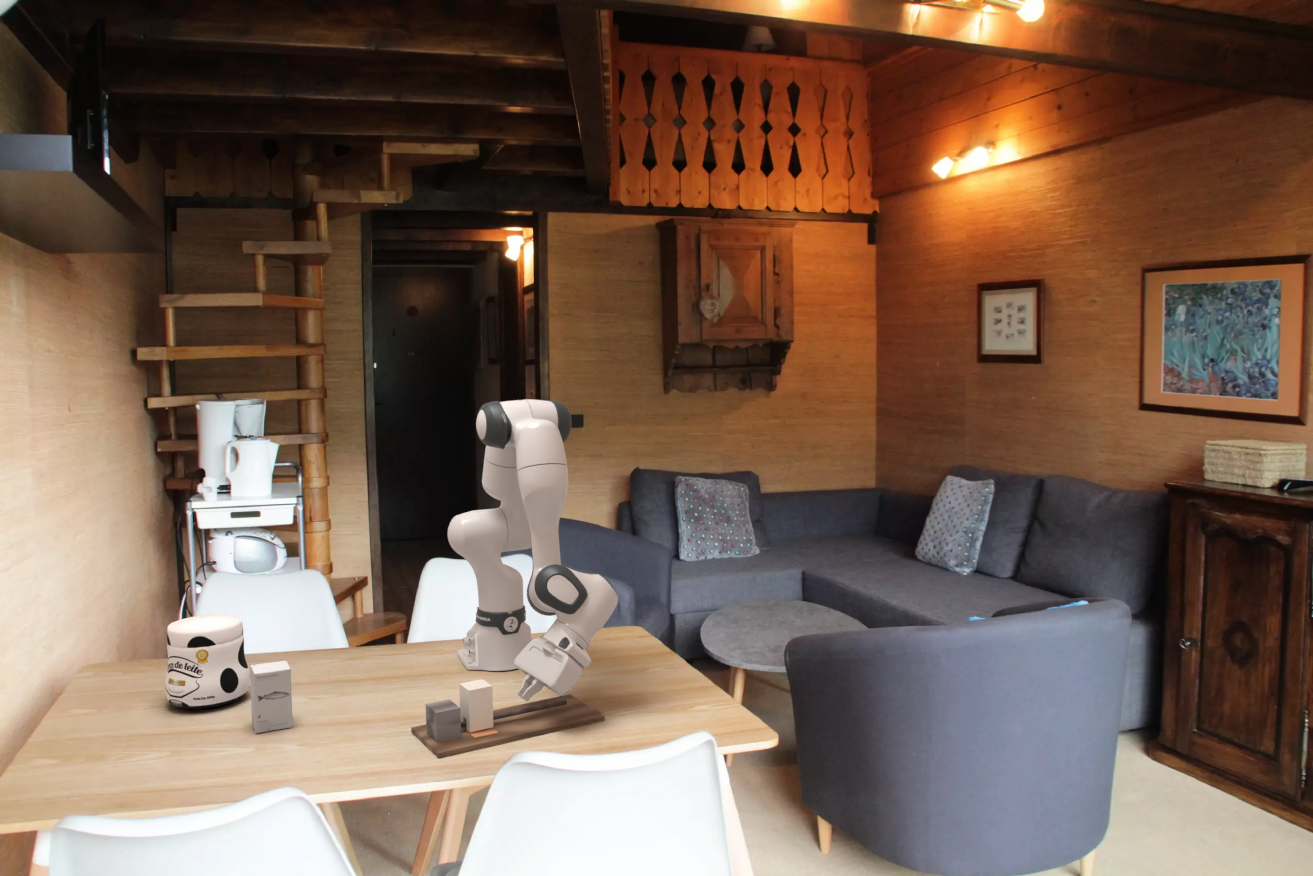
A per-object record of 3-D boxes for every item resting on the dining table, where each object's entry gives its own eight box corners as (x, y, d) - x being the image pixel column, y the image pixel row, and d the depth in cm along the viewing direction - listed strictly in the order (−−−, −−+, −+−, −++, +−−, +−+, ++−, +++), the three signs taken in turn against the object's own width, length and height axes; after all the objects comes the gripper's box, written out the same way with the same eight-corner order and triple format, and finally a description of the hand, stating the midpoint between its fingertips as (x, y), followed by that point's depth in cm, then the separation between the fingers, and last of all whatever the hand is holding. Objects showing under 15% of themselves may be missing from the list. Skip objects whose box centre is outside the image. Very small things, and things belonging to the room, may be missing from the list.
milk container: (155, 718, 210) (151, 635, 209) (177, 692, 227) (173, 615, 226) (242, 711, 214) (238, 630, 213) (257, 686, 231) (253, 610, 229)
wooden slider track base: (411, 732, 200) (410, 698, 200) (569, 698, 219) (569, 667, 219) (438, 758, 187) (437, 722, 186) (604, 720, 206) (604, 687, 205)
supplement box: (255, 734, 200) (252, 673, 199) (251, 723, 207) (249, 664, 206) (293, 728, 203) (291, 668, 202) (289, 717, 210) (286, 659, 209)
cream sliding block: (460, 724, 200) (459, 683, 199) (483, 719, 203) (482, 679, 202) (469, 732, 196) (468, 690, 195) (493, 727, 198) (492, 686, 198)
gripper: (532, 624, 216) (492, 676, 212) (575, 646, 199) (532, 703, 194) (551, 641, 219) (512, 692, 214) (595, 664, 201) (553, 720, 197)
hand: (521, 698), depth 204 cm, fingers closed
